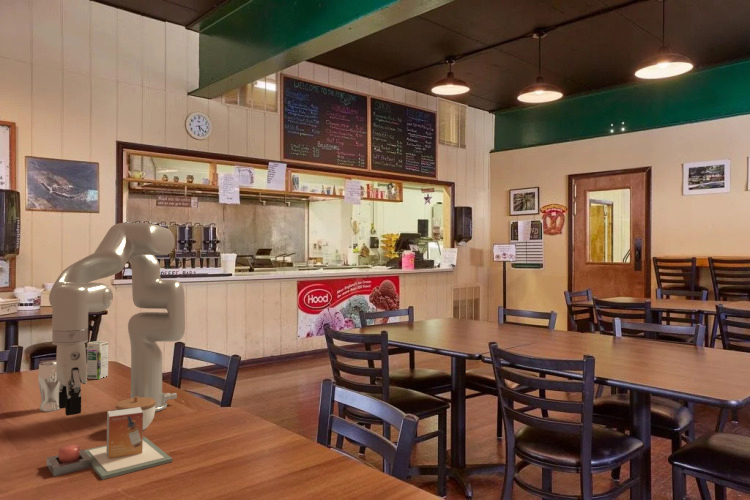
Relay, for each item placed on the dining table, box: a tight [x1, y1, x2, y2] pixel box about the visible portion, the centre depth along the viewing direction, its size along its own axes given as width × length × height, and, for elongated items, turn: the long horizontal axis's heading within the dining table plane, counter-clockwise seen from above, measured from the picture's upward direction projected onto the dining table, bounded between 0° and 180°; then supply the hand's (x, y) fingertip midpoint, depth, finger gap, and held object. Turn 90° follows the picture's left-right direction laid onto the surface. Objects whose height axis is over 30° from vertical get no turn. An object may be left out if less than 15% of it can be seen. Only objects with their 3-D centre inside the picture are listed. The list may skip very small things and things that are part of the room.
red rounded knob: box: [58, 444, 81, 463], centre depth 129 cm, size 4×4×3 cm
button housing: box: [46, 449, 93, 477], centre depth 129 cm, size 8×8×2 cm
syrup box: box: [86, 340, 109, 380], centre depth 216 cm, size 6×6×14 cm
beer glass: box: [37, 360, 61, 413], centre depth 174 cm, size 7×7×15 cm
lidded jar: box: [115, 396, 156, 431], centre depth 157 cm, size 11×11×9 cm
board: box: [83, 436, 173, 481], centre depth 135 cm, size 16×20×1 cm
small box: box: [106, 407, 144, 458], centre depth 136 cm, size 8×6×10 cm
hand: (69, 410), depth 129 cm, fingers open, 6 cm apart
